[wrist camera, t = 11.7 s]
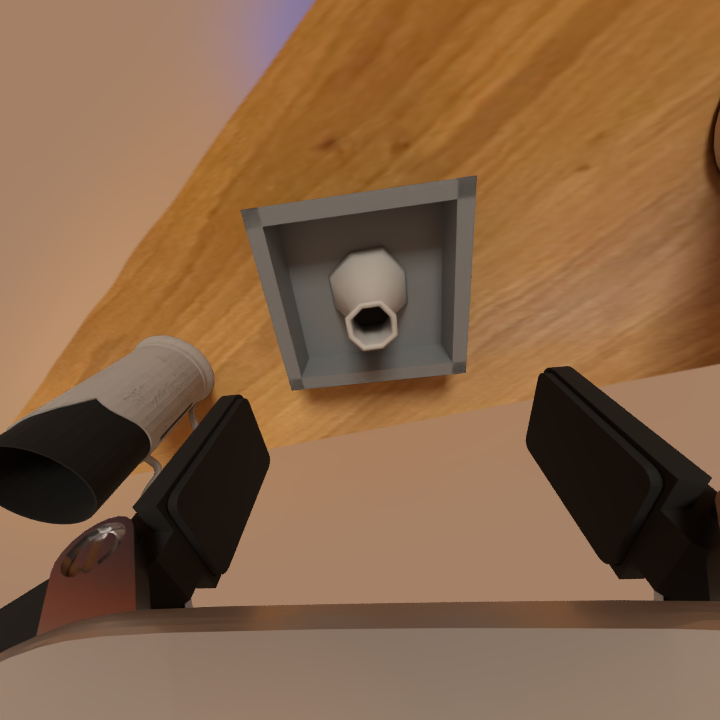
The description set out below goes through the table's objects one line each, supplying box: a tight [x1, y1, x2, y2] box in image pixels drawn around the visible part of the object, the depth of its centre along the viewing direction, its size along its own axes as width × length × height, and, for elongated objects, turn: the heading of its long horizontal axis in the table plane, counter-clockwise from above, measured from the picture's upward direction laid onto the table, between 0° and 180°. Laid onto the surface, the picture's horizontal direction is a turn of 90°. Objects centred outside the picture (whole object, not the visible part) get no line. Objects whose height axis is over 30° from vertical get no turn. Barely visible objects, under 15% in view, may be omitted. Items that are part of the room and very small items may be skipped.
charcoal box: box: [241, 175, 477, 390], centre depth 24 cm, size 16×15×5 cm
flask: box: [328, 246, 408, 351], centre depth 21 cm, size 7×7×10 cm
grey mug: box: [0, 335, 214, 524], centre depth 26 cm, size 9×14×15 cm, turn 38°
